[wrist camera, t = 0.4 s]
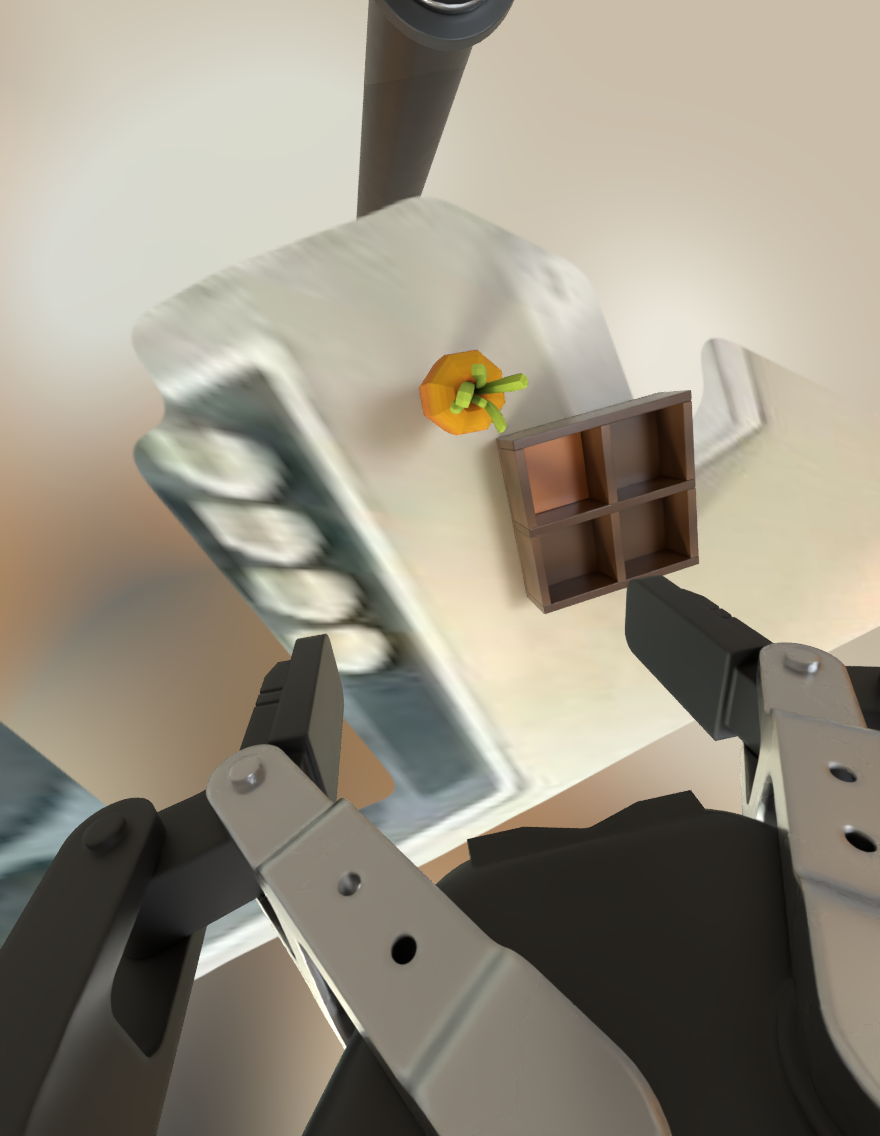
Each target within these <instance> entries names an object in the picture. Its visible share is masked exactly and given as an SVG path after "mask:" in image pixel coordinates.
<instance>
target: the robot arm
mask: <svg viewBox="0 0 880 1136" xmlns="http://www.w3.org/2000/svg"><path fill="white" fill-rule="evenodd" d="M413 1H415V2H416V3H417V4H419V5H420V6H422V7H424V8H425V9H428V10H430V11H432V12H435V13H439V14H444V15H458V14H463V13H466V12H469V11H471V10H473V9H475V8H477V7H478V6H480V5H481V4H482V3H484V2H485V1H486V0H413ZM625 636H626V640H627V643H628V646H629V648H630V650H631V651H632V652H633V654H634V655H635V656H636V657H637V658H638V659H639V660H640V661H641V662H642V663H643V664H644V665H645V667H646V668H647V669H648V670H649V671H650V672H651V673H652V674H653V675H654V676H655V677H656V678H657V679H658V680H659V681H660V683H661V684H662V685H663V686H664V687H665V688H666V689H667V690H668V691H669V692H670V693H671V694H672V695H673V696H674V697H675V699H676V700H677V701H678V702H679V703H680V704H681V705H682V706H683V707H684V708H685V709H686V710H687V711H688V712H689V714H690V715H691V716H692V717H693V718H694V719H695V720H696V721H697V722H698V723H699V724H700V725H701V726H702V727H703V728H704V730H705V731H706V732H707V733H708V734H709V735H710V736H711V737H712V738H713V739H714V740H715V741H717V740H721V739H727V738H731V737H736V736H738V737H739V738H740V739H741V740H742V746H741V751H740V760H741V761H740V764H741V791H742V815H740V814H736V813H731V812H727V811H720V810H713V809H705V808H704V807H703V806H702V804H701V803H700V802H699V800H698V799H697V798H696V797H695V795H694V794H693V793H692V791H690V790H688V791H684V792H679V793H675V794H670V795H666V796H661V797H657V798H652V799H648V800H643V801H638V802H636V803H634V804H632V805H630V806H629V807H627V808H625V809H623V810H621V811H619V812H618V813H616V814H614V815H612V816H610V817H608V818H607V819H605V820H603V821H601V822H599V823H597V824H596V825H594V826H592V827H589V828H582V829H581V828H547V827H545V828H544V827H520V828H516V829H511V830H507V831H502V832H498V833H493V834H489V835H484V836H480V837H475V838H471V839H467V842H468V849H469V856H470V860H468V861H466V862H464V863H462V864H461V865H459V866H458V867H456V868H455V869H454V870H452V871H451V872H450V873H448V874H447V875H445V876H444V877H443V878H442V879H441V880H440V881H439V882H438V883H437V884H436V885H435V884H434V883H433V882H432V881H431V880H430V879H429V878H428V877H427V876H426V875H425V874H423V872H421V871H420V870H419V869H418V868H417V867H416V866H415V865H414V864H413V863H412V862H411V861H410V860H409V859H408V858H407V857H406V856H405V855H404V854H403V853H402V852H401V851H400V850H399V849H398V848H397V847H396V846H395V845H394V844H393V843H392V842H391V841H390V840H389V839H388V838H387V837H386V836H385V835H384V834H383V833H382V832H380V831H379V830H378V829H377V828H376V827H375V826H374V825H373V824H372V823H371V822H370V821H369V820H368V819H367V818H366V817H365V816H364V815H363V814H362V813H361V812H360V811H359V810H358V809H357V808H356V807H355V806H354V805H353V804H352V803H350V802H349V801H348V800H346V799H344V798H340V799H339V800H338V801H337V802H336V799H337V787H338V773H339V761H340V749H341V737H342V724H343V711H344V698H343V690H342V685H341V680H340V677H339V673H338V669H337V665H336V661H335V658H334V654H333V650H332V646H331V643H330V639H329V637H328V635H327V634H322V635H317V636H311V637H305V638H300V639H297V640H296V642H295V646H294V650H293V653H292V657H291V660H288V661H283V662H278V663H277V664H276V665H275V666H274V667H273V668H272V670H271V671H270V672H269V673H268V674H267V675H266V676H265V678H264V681H263V684H262V687H261V690H260V695H259V696H258V699H257V701H256V707H255V708H254V710H253V713H252V716H251V719H250V722H249V725H248V727H247V730H246V733H245V736H244V739H243V742H242V745H241V748H240V750H239V751H238V752H236V753H235V754H233V755H231V756H230V757H228V758H227V759H226V760H224V761H223V762H222V763H221V764H220V765H219V766H218V767H217V768H216V769H215V771H214V772H213V773H212V775H211V776H210V778H209V780H208V783H207V786H206V790H204V791H202V792H201V793H199V794H197V795H195V796H193V797H190V798H188V799H186V800H184V801H181V802H179V803H177V804H175V805H172V806H170V807H168V808H166V809H164V810H161V811H159V812H157V811H156V809H155V808H154V806H153V804H152V803H151V802H150V801H149V800H147V799H144V798H129V799H124V800H121V801H118V802H116V803H113V804H111V805H109V806H107V807H105V808H103V809H101V810H99V811H98V812H96V813H94V814H93V815H92V816H90V817H89V818H88V819H86V820H85V821H84V822H83V823H81V824H80V825H79V826H78V827H77V828H76V829H75V830H74V831H73V832H72V833H71V834H70V836H69V837H68V838H67V839H66V841H65V842H64V844H63V845H62V847H61V848H60V850H59V852H58V853H57V855H56V857H55V858H54V860H53V862H52V863H51V865H50V867H49V868H48V870H47V872H46V874H45V875H44V877H43V879H42V880H41V882H40V884H39V885H38V887H37V889H36V890H35V892H34V894H33V895H32V897H31V899H30V901H29V902H28V904H27V906H26V907H25V909H24V911H23V912H22V914H21V916H20V917H19V919H18V921H17V922H16V924H15V926H14V928H13V929H12V931H11V933H10V934H9V936H8V938H7V939H6V941H5V943H4V944H3V946H2V948H1V949H0V1136H156V1134H157V1130H158V1125H159V1121H160V1117H161V1113H162V1109H163V1104H164V1101H165V1097H166V1092H167V1088H168V1084H169V1080H170V1076H171V1072H172V1067H173V1064H174V1059H175V1055H176V1051H177V1047H178V1043H179V1039H180V1035H181V1030H182V1026H183V1022H184V1018H185V1014H186V1010H187V1006H188V1002H189V998H190V993H191V989H192V985H193V981H194V977H195V973H196V969H197V964H198V960H199V956H200V952H201V948H202V944H203V940H204V936H205V931H206V927H207V925H209V924H210V923H212V922H214V921H216V920H218V919H220V918H221V917H223V916H225V915H227V914H229V913H230V912H232V911H234V910H236V909H238V908H239V907H241V906H243V905H245V904H247V903H248V902H250V901H252V900H254V899H256V901H257V902H258V904H259V905H260V907H261V909H262V910H263V912H264V914H265V915H266V917H267V918H268V920H269V922H270V923H271V925H272V927H273V928H274V930H275V932H276V933H277V935H278V936H279V938H280V940H281V941H282V943H283V945H284V946H285V947H286V949H287V951H288V953H289V954H290V956H291V957H292V959H293V961H294V962H295V964H296V966H297V967H298V969H299V971H300V972H301V974H302V976H303V977H304V979H305V981H306V983H307V985H308V986H309V988H310V990H311V992H312V994H313V996H314V998H315V1000H316V1001H317V1003H318V1005H319V1007H320V1009H321V1010H322V1012H323V1014H324V1016H325V1017H326V1019H327V1021H328V1022H329V1024H330V1026H331V1028H332V1029H333V1031H334V1033H335V1034H336V1036H337V1037H338V1039H339V1041H340V1042H341V1044H342V1046H343V1047H344V1049H345V1051H344V1053H343V1055H342V1057H341V1059H340V1061H339V1063H338V1065H337V1067H336V1069H335V1071H334V1073H333V1075H332V1077H331V1079H330V1081H329V1082H328V1084H327V1086H326V1089H325V1090H324V1093H323V1094H322V1096H321V1098H320V1100H319V1102H318V1104H317V1107H316V1108H315V1110H314V1112H313V1114H312V1116H311V1118H310V1120H309V1122H308V1124H307V1126H306V1128H305V1130H304V1132H303V1134H302V1136H880V667H863V666H844V664H843V663H842V662H841V661H840V660H838V659H837V658H836V657H834V656H832V655H831V654H829V653H827V652H825V651H823V650H820V649H817V648H814V647H811V646H807V645H803V644H797V643H773V642H771V641H770V640H768V639H767V638H765V637H764V636H762V635H761V634H759V633H758V632H756V631H755V630H753V629H752V628H750V627H749V626H747V625H746V624H744V623H743V622H741V621H740V620H738V619H737V618H735V617H732V616H731V614H729V613H728V612H726V611H725V610H723V609H719V606H717V605H716V604H714V603H713V602H711V601H710V600H709V599H707V598H706V597H704V596H702V595H699V594H696V593H693V592H691V591H688V590H685V589H681V588H679V587H678V586H677V585H675V584H674V583H672V582H671V581H669V580H668V579H666V578H665V577H664V576H662V575H654V576H648V577H643V578H637V579H632V580H630V581H629V583H628V586H627V597H626V617H625Z"/></svg>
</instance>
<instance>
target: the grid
mask: <svg viewBox="0 0 880 1136" xmlns="http://www.w3.org/2000/svg"><path fill="white" fill-rule="evenodd" d="M690 400H691V390H687V391H673V392H661V393H655V394H652V395H648V396H645V397H641V398H638V399H634V400H630V401H627V402H623V403H620V404H616V405H613V406H609V407H606V408H602V409H599V410H595V411H591V412H588V413H584V414H581V415H577V416H574V417H570V418H567V419H563V420H560V421H556V422H552V423H549V424H545V425H542V426H538V427H535V428H531V429H528V430H524V431H521V432H517V433H513V434H510V435H506V436H503V437H499V438H496V440H497V445H498V450H499V455H500V461H501V466H502V471H503V476H504V481H505V486H506V491H507V496H508V501H509V506H510V511H511V516H512V521H513V526H514V532H515V537H516V542H517V547H518V552H519V557H520V562H521V567H522V572H523V577H524V582H525V587H526V592H527V597H528V598H529V599H530V600H531V601H532V602H533V603H534V604H535V605H536V606H537V607H538V608H539V609H540V610H541V611H542V612H543V613H544V614H547V613H550V612H553V611H556V610H559V609H562V608H565V607H568V606H571V605H574V604H577V603H580V602H583V601H586V600H590V599H593V598H596V597H599V596H602V595H605V594H608V593H611V592H614V591H617V590H620V589H623V588H626V587H627V586H628V583H629V581H630V580H632V579H637V578H643V577H648V576H654V575H662V576H663V575H666V574H669V573H672V572H675V571H678V570H681V569H684V568H687V567H690V566H693V565H697V564H699V556H698V533H697V510H696V488H695V479H694V478H695V466H694V444H693V422H692V402H691V401H690Z"/></svg>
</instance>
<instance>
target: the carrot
mask: <svg viewBox="0 0 880 1136" xmlns="http://www.w3.org/2000/svg"><path fill="white" fill-rule="evenodd" d="M527 385H528V379H527V377H526V376H525V375H524V374H523V373H522V374H516V375H512V376H508V377H505V378H502V371H501V370H500V369H499V368H498V367H497V366H495V365H494V364H493V363H492V362H491V361H490V360H488V359H487V358H486V357H485V356H484V355H482V354H481V353H480V352H479V351H478V350H473V351H467V352H461V353H455V354H449V355H444V356H443V357H442V358H440V359H439V360H438V361H437V362H436V363H435V364H434V365H433V367H432V369H431V370H430V372H429V373H428V375H427V376H426V378H425V379H424V381H423V383H422V384H421V386H420V387H419V390H420V396H421V402H422V408H423V413H424V416H426V417H427V418H428V419H430V420H431V421H432V422H434V423H435V424H436V425H438V426H439V427H440V428H442V429H443V430H444V431H446V432H448V433H451V434H454V435H461V434H466V433H471V432H476V431H481V430H486V429H488V427H489V426H490V424H491V423H492V421H493V423H494V425H495V427H496V428H497V430H498V432H499V433H502V432H504V430H505V429H506V427H507V424H506V421H505V419H504V417H503V415H502V414H501V412H500V410H501V408H502V407H503V405H504V404H505V396H504V392H511V391H516V390H521V389H524V388H526V387H527Z"/></svg>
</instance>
